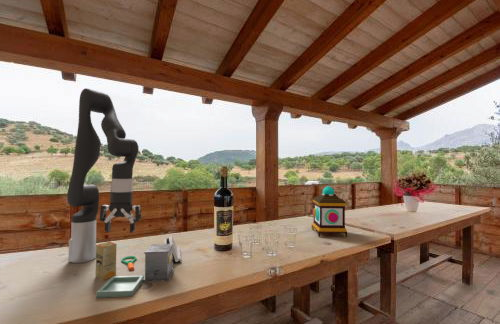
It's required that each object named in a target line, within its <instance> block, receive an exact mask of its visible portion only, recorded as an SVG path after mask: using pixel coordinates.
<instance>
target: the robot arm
mask: <svg viewBox="0 0 500 324" xmlns="http://www.w3.org/2000/svg"><path fill="white" fill-rule="evenodd" d="M91 112H92V113H93V112H94V113H97V114H103V115H104V117H102V119H101V122H100V126H101V130H102V132H103V134H104V135H105V137H106V142H107V143H106V144H107V145H106V146H107V151H108V153H109V155H111V156H113V157H118V158H120V157H121V158H122V157H123V158H124V159H123V161H121V162H115V163H113V165H112V167H111V181H110V182H111V183H110V195H109V197H110V198H109V202H110V203H109V205H107V204H103V205H101V206H100V212H99V204H100V191H99V188H98V187H97V186H96V185H95V184H85V182H86V181H85V180H86V177H87V175H88V173H89V172H90V170H91V169H92V168H93V167H94V165H95V164H96V163H97V161H98V160H99V157H100V153H101V145H102V144H101V139H100V137H99V134H98V133H97V131H96V130H95V127H94V126H93V123H92V122H93V121H92V117H91ZM76 133H77V134H76V138H75V147H74V157H73V164H72V171H71V174H70V175H71V176H70V180H69V183H68V188H67V194H66V198H67V199H66V200H67V203H68V205H69V206H70V207H73V208H76V207H82V208H81V209H80V210H79V211H77V212H76V213H74V214H72V216H71V223H70V224H71V227H70V230H71V235H70V238H69V240H68V256H67V257H68V259H67V261H68V263H73V264H82V263H86V262H89V261H93V260H94V259H96V245H97V216H98V214H99V222H103V223H104V231H105V233H110V232H111V230H112V229H111V228H112V226H111V225H112V222H111V221H112V220H113V218H114V217H115V218H119V217H121V218H124V217H125V218H126V219H127V220H128V221H129V233H130V234H132V233H134V231H135V230H136V223H138V222H139V221H141V220H142V210H141V209H142V207H141V205H140V204H139V205H133V191H134V182H133V176H134V175H133V171H134V170H133V169H134V165H135V162H136V159H137V157H138V154H139V150H140V149H139V144H138V142H137V140H135V139H130V138H126V135H127V134H126V131H125V129H124V127H123V126H122V124H121V123H120V121H119V118H118V116H117V113H116V109H115V106H114V104H113V101H112V98H111V97H110V95H109V94H108V93H105V92H103V91H98V90H94V89H90V88H88V87H87V88H83V89H82V90H81V92H80V95H79V103H78V125H77V132H76ZM108 210H109V211H110V213H109V214H108V215H107V211H108ZM132 210H133V212H135V216H134V214H133V213H132Z"/></svg>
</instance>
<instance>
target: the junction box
mask: <svg viewBox="0 0 500 324" xmlns="http://www.w3.org/2000/svg"><path fill="white" fill-rule="evenodd" d="M172 247H173V244H164V243H160V244H158V243H157V244H150V246H149V247H147V248H146V250H145V251H144V252H143V254H145V256H144V279H143V282H144V283H145V282H167V281H168V282H170V281H169V280H170V279H171V277H172V276H173V275H172V274H173V272H174V271H175V268H173V264H172V257H173V256H172ZM143 282H142V283H143Z"/></svg>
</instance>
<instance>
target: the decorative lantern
mask: <svg viewBox="0 0 500 324" xmlns="http://www.w3.org/2000/svg"><path fill="white" fill-rule="evenodd" d="M311 201H312V202H313V209H312V216H313V222H312V224H311V229H312V230H311V231H314V230H315V231H316V232H317V235H318V238H321V235H322V233H323V234H324V233H325V234H327V233H329V234H343V236H344V238H347V237H348V231H347V228H346V221H345V220H346V206H347V204H348V203H347V202H346V201H345V200H344V199H343V198H340V197H339V196H338V195H337V194H336V193H335V190H334V188H333V187H332V186H329V185H328V186H326V187H324V188H323V190H322V193H321V194H319V195H317V196H314V197H313V198H312V199H311Z"/></svg>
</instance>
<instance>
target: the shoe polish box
mask: <svg viewBox="0 0 500 324" xmlns="http://www.w3.org/2000/svg"><path fill="white" fill-rule="evenodd" d="M94 274H95V278H96V279H98V280H101V281H105V280H107V279H108V280H109V279H111V278H112V277H113V276H117V243H114V242H111V241H106V242H104V243H99V244H96V257H95V273H94Z"/></svg>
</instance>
